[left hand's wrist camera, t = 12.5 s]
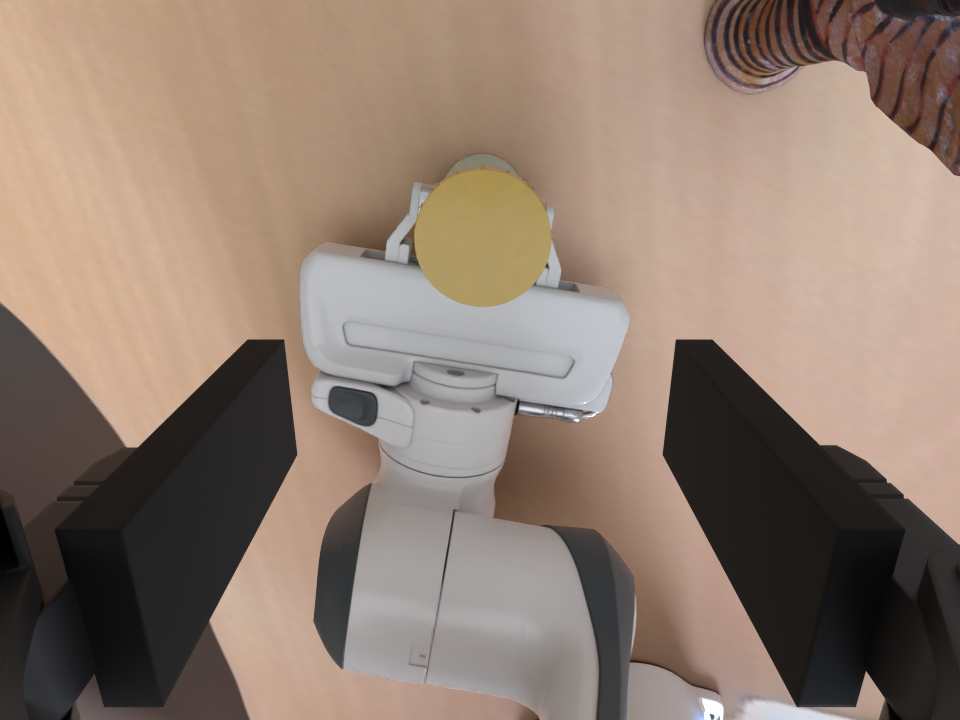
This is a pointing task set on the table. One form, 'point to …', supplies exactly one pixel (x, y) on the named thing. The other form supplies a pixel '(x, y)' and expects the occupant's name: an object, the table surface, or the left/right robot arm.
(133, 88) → the table surface
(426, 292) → the right robot arm
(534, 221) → the lid
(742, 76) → the figurine
